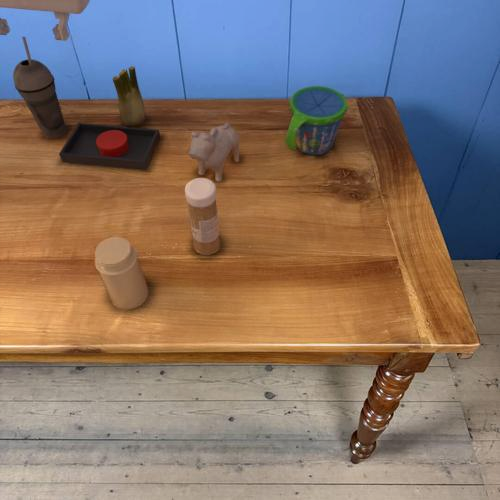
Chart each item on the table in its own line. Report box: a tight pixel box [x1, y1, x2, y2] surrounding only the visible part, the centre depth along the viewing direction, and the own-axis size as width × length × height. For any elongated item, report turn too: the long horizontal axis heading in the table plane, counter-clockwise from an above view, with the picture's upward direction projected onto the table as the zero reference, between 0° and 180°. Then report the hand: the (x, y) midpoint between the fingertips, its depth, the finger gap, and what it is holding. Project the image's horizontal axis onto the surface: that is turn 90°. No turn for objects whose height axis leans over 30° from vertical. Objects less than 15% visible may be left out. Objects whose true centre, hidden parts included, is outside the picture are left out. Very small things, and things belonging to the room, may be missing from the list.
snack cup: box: [284, 85, 349, 156], centre depth 89 cm, size 16×10×10 cm
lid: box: [96, 130, 129, 157], centre depth 91 cm, size 6×6×2 cm
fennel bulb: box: [112, 65, 147, 128], centre depth 93 cm, size 6×5×12 cm
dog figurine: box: [187, 122, 240, 182], centre depth 84 cm, size 5×13×11 cm, turn 151°
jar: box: [94, 236, 149, 311], centre depth 67 cm, size 6×6×11 cm
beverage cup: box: [12, 36, 67, 140], centre depth 89 cm, size 7×7×20 cm
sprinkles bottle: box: [184, 177, 221, 256], centre depth 71 cm, size 5×5×14 cm
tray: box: [58, 122, 162, 171], centre depth 92 cm, size 17×10×2 cm, turn 82°
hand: (33, 36), depth 70 cm, fingers open, 8 cm apart
